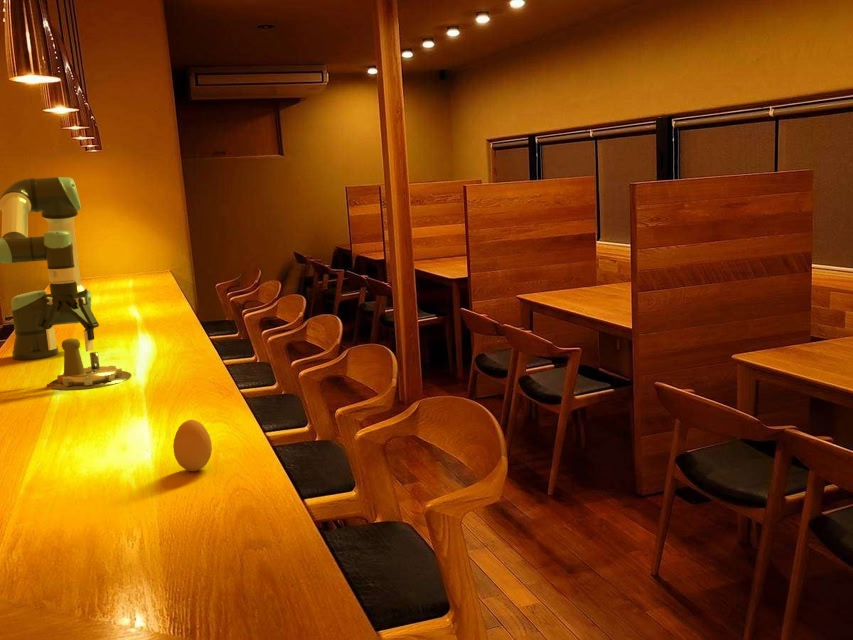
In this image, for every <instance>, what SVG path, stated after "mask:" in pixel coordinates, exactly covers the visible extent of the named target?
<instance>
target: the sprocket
mask: <svg viewBox="0 0 853 640" xmlns="http://www.w3.org/2000/svg"><path fill="white" fill-rule="evenodd" d="M89 358H90V360H89V361H90V366H88V367H84V371H85V373H84V374H81V375H77V376H64V372H63V373H62V374H59V375H57V376H56V379H57V380H58V383H61V382H63V386H70V385H85V386H86V385H93V384H95V383H101V382H105V381H112V380H115V378H116V377H117V376H122V371H123V370H122V369H123V368H117V366H116V365H109V366H106V365H104V366H100V360H99V359H100V358H99V351H92V352H89Z"/></svg>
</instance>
